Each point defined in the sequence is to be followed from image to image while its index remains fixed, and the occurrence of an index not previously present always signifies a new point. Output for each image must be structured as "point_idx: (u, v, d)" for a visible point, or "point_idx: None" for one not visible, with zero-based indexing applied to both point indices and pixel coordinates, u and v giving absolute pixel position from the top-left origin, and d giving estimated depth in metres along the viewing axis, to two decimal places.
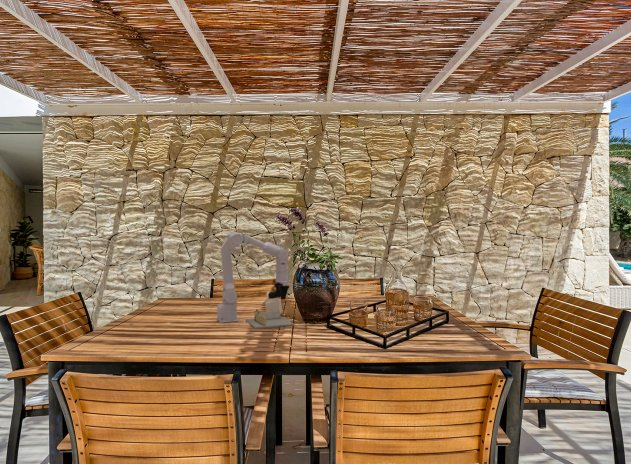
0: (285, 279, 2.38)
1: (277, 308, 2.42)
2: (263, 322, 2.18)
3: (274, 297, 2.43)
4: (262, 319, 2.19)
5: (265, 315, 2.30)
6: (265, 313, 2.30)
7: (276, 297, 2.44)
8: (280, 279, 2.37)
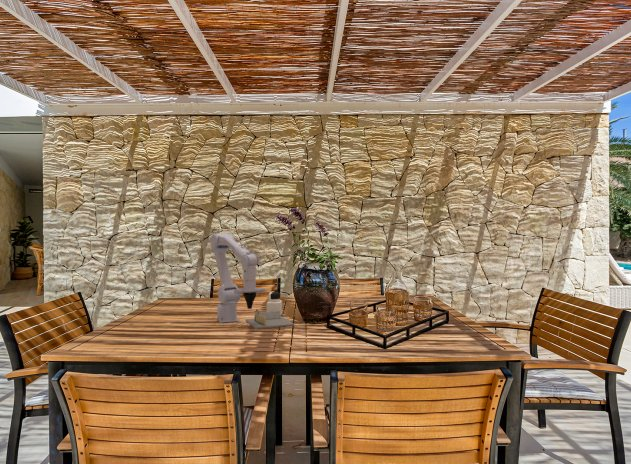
0: (245, 288, 2.17)
1: (278, 309, 2.42)
2: (263, 322, 2.18)
3: (276, 298, 2.43)
4: (262, 319, 2.19)
5: (265, 315, 2.30)
6: (265, 313, 2.30)
7: (278, 298, 2.44)
8: None
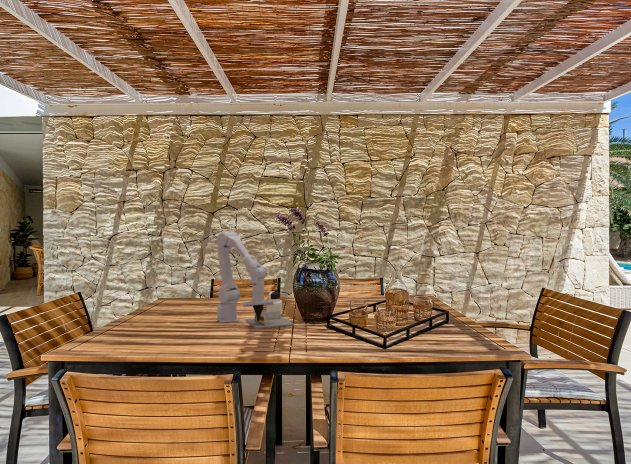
0: (254, 301, 2.18)
1: (278, 309, 2.42)
2: (263, 322, 2.18)
3: (276, 298, 2.43)
4: (262, 319, 2.19)
5: (265, 315, 2.30)
6: (265, 313, 2.30)
7: (278, 298, 2.44)
8: None
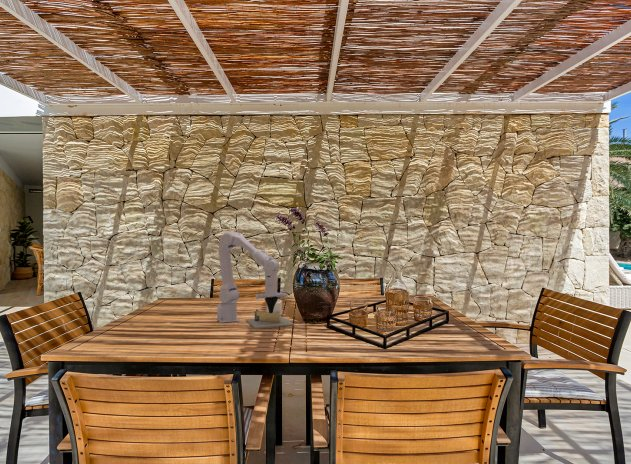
0: (267, 293, 2.21)
1: (278, 309, 2.42)
2: (277, 319, 2.24)
3: None
4: (275, 317, 2.25)
5: None
6: None
7: (278, 298, 2.44)
8: None
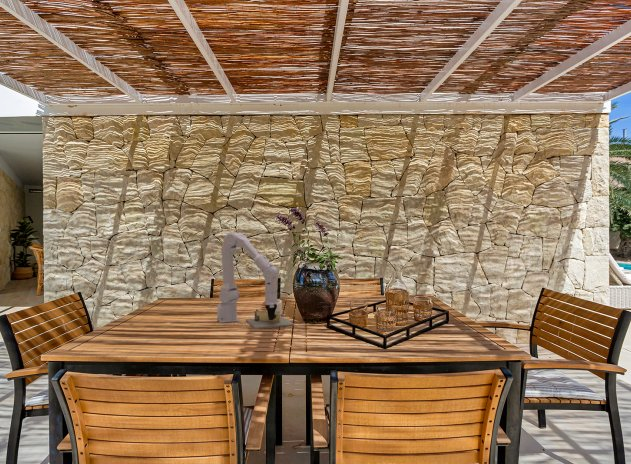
0: (274, 300, 2.21)
1: (278, 309, 2.42)
2: (277, 319, 2.24)
3: None
4: (275, 317, 2.25)
5: None
6: None
7: (278, 298, 2.44)
8: (268, 300, 2.20)
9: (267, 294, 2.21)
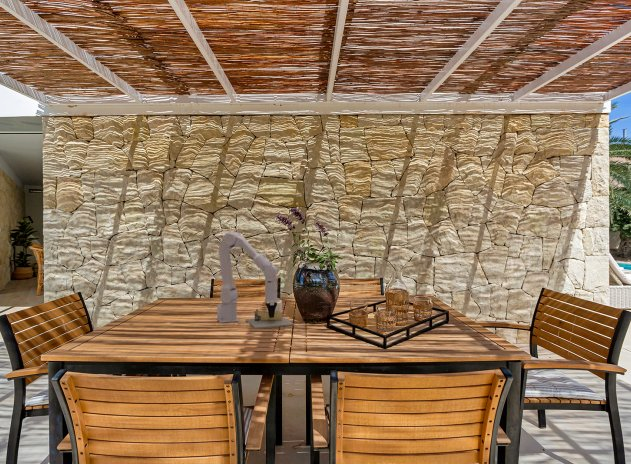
0: (274, 298, 2.25)
1: (278, 309, 2.42)
2: (280, 317, 2.29)
3: None
4: (277, 315, 2.29)
5: None
6: None
7: None
8: (269, 298, 2.25)
9: (267, 292, 2.25)
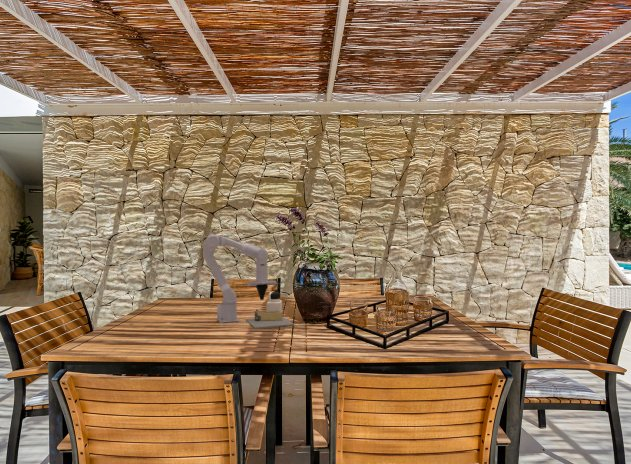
0: (257, 280, 2.33)
1: (278, 309, 2.42)
2: (280, 317, 2.29)
3: (276, 298, 2.43)
4: (277, 315, 2.29)
5: None
6: None
7: (278, 298, 2.44)
8: None
9: None
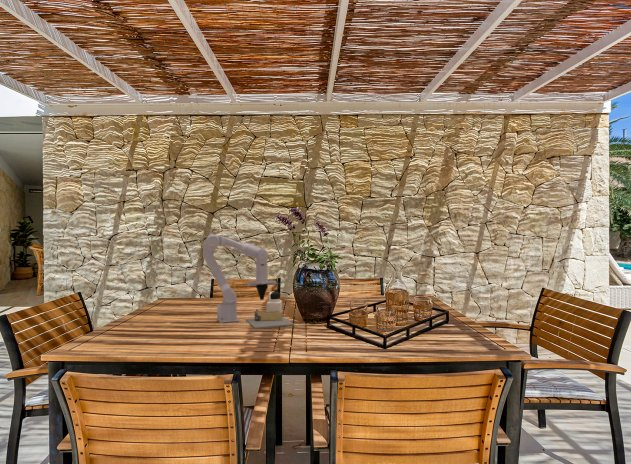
0: (257, 280, 2.33)
1: (278, 309, 2.42)
2: (280, 317, 2.29)
3: (276, 298, 2.43)
4: (277, 315, 2.29)
5: None
6: None
7: (278, 298, 2.44)
8: None
9: None
